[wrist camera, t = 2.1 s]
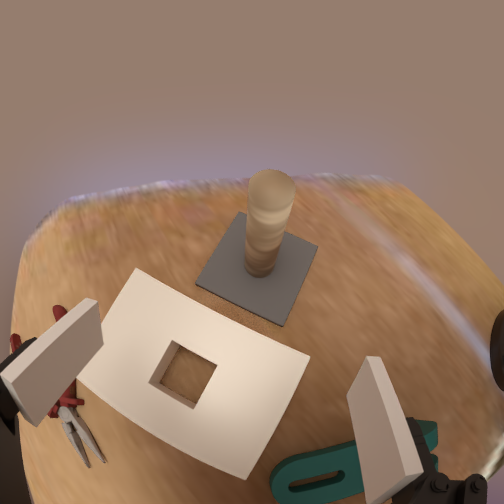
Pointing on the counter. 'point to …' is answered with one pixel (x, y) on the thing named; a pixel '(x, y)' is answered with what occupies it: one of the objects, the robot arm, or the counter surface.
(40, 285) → the counter surface
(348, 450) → the bracket
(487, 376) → the counter surface
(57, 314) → the pliers
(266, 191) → the peg
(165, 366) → the hole block
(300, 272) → the mat
